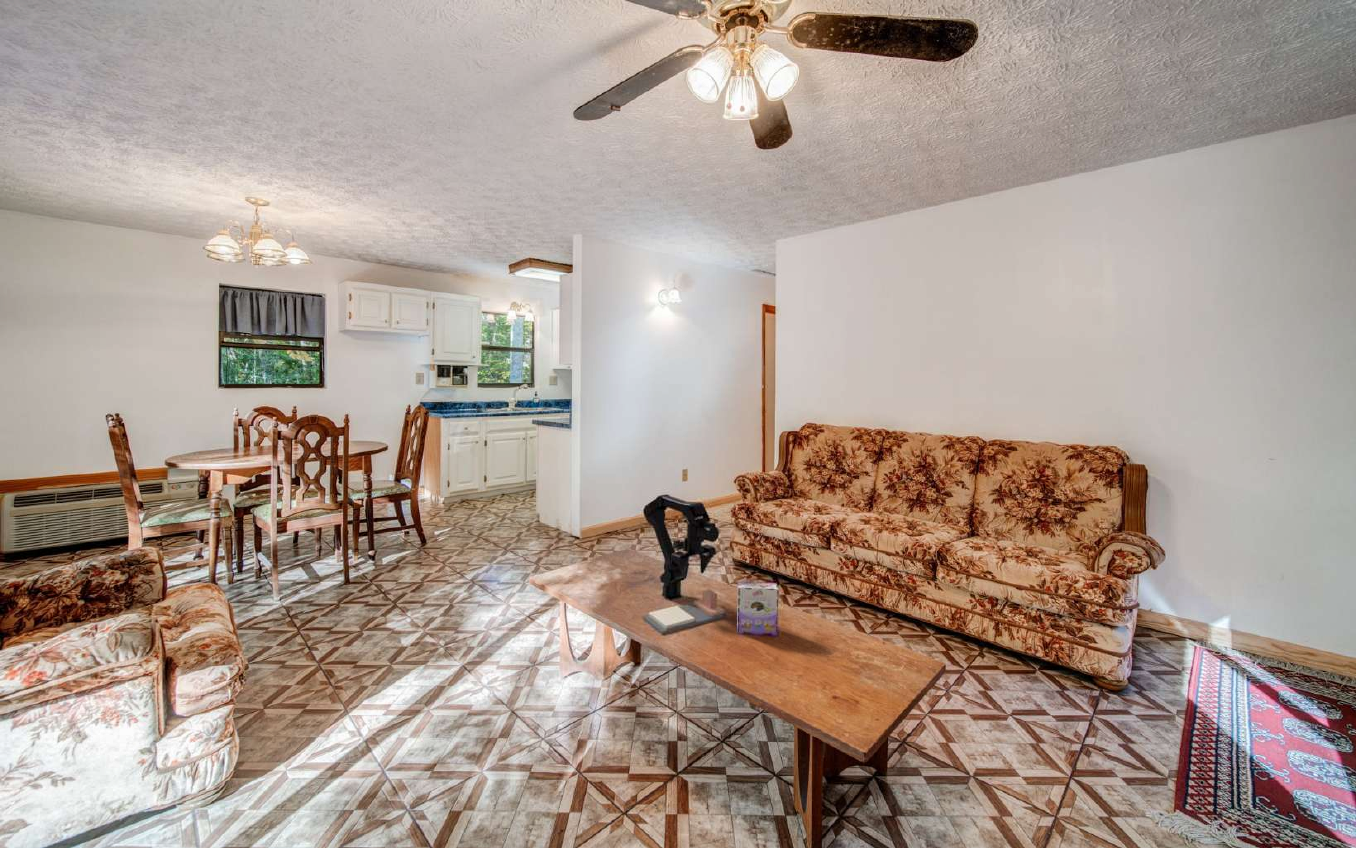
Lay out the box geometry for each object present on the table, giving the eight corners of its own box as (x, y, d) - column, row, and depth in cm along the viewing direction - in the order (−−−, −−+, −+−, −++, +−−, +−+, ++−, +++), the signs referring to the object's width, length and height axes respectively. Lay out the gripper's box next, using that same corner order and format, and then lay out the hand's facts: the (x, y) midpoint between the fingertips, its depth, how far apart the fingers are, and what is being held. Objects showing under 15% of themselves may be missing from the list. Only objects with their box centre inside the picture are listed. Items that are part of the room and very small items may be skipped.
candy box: (776, 628, 184) (777, 582, 183) (777, 636, 178) (779, 589, 177) (736, 625, 185) (737, 580, 184) (736, 633, 179) (738, 587, 178)
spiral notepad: (678, 608, 196) (678, 605, 196) (696, 621, 186) (696, 617, 186) (648, 615, 189) (648, 612, 189) (665, 629, 179) (665, 625, 179)
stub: (705, 601, 203) (706, 585, 203) (724, 613, 193) (725, 596, 192) (693, 604, 200) (694, 588, 199) (712, 616, 190) (712, 599, 189)
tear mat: (701, 604, 203) (701, 601, 203) (723, 617, 191) (723, 615, 191) (642, 618, 189) (642, 616, 189) (662, 634, 178) (662, 631, 177)
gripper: (697, 527, 211) (696, 565, 212) (662, 535, 199) (661, 575, 200) (717, 533, 203) (716, 572, 204) (681, 542, 191) (680, 583, 192)
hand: (693, 575), depth 200 cm, fingers open, 9 cm apart
